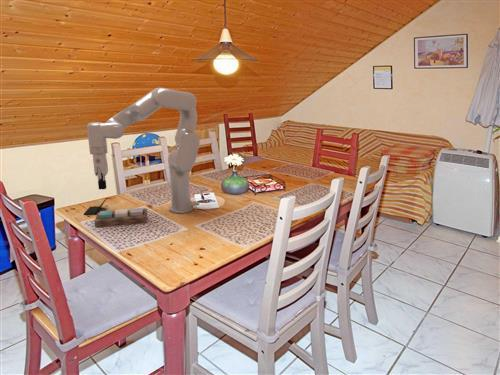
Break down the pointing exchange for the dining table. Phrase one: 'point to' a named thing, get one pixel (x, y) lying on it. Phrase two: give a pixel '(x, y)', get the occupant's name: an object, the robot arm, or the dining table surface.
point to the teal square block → (106, 214)
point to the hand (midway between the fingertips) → (102, 188)
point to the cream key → (121, 213)
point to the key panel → (121, 220)
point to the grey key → (136, 212)
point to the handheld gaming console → (94, 209)
